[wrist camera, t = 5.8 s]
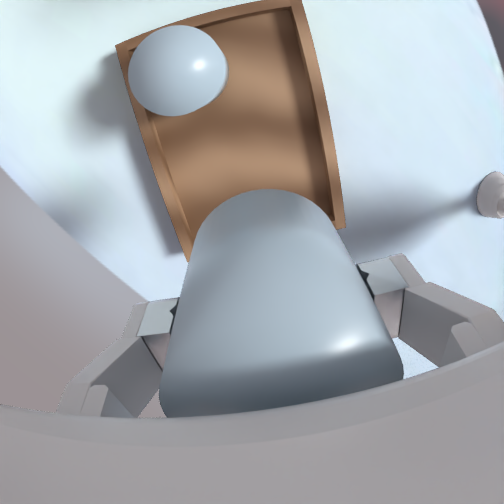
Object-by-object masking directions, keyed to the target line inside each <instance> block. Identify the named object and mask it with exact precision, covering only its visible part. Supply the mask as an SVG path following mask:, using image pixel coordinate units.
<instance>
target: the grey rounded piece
mask: <svg viewBox="0 0 504 504" xmlns="http://www.w3.org/2000/svg"><path fill="white" fill-rule="evenodd" d="M403 375H404V371H403V364H402V361H401V358H400V355H399V353H398V351H397V349H396V347H395V344H394V342H393V340H392V338H391V336H390V334H389V332H388V329H387V327H386V325H385V323H384V321H383V319H382V317H381V315H380V313H379V311H378V309H377V307H376V305H375V303H374V301H373V299H372V297H371V295H370V293H369V291H368V289H367V287H366V285H365V283H364V281H363V279H362V277H361V275H360V273H359V271H358V269H357V268H356V266H355V264H354V262H353V260H352V258H351V256H350V254H349V253H348V251H347V249H346V247H345V245H344V243H343V242H342V240H341V238H340V236H339V234H338V233H337V231H336V229H335V227H334V226H333V224H332V222H331V221H330V219H329V218H328V216H327V215H326V214H325V213H324V212H323V210H322V209H321V208H320V207H318V206H317V205H316V204H314V203H313V202H312V201H310V200H308V199H307V198H305V197H303V196H300V195H298V194H295V193H292V192H288V191H285V190H277V189H260V190H253V191H249V192H245V193H241V194H239V195H237V196H234V197H232V198H230V199H228V200H227V201H225V202H223V203H222V204H220V205H219V206H218V207H216V208H215V209H214V210H213V211H212V212H211V213H210V214H209V215H208V216H207V218H206V219H205V220H204V222H203V223H202V225H201V227H200V228H199V230H198V232H197V235H196V238H195V241H194V245H193V249H192V252H191V256H190V260H189V263H188V267H187V271H186V275H185V279H184V283H183V287H182V291H181V295H180V299H179V303H178V307H177V311H176V315H175V319H174V323H173V328H172V332H171V336H170V341H169V345H168V350H167V354H166V359H165V363H164V368H163V372H162V377H161V382H160V387H159V400H160V405H161V407H162V409H163V412H164V414H165V415H166V416H167V418H169V417H193V416H209V415H221V414H232V413H242V412H250V411H258V410H266V409H273V408H280V407H286V406H292V405H298V404H304V403H309V402H314V401H319V400H324V399H329V398H334V397H338V396H343V395H347V394H351V393H355V392H360V391H364V390H367V389H371V388H375V387H379V386H382V385H386V384H389V383H393V382H396V381H400V380H403Z"/></svg>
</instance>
